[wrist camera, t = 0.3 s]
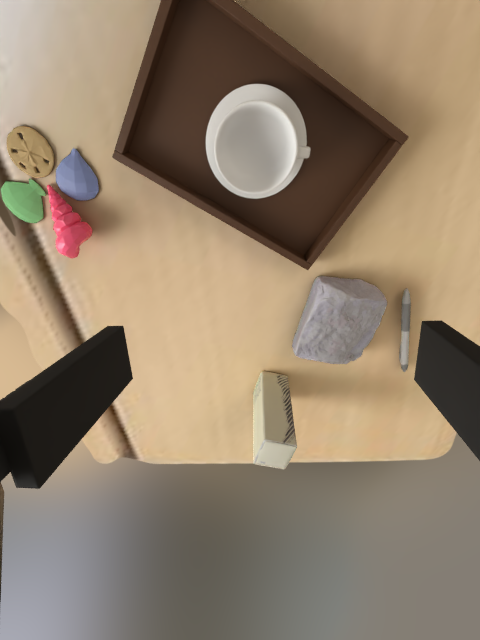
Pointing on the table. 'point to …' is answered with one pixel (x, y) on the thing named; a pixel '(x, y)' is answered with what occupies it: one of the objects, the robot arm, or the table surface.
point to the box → (273, 421)
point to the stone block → (338, 320)
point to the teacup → (256, 141)
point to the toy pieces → (49, 188)
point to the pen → (405, 330)
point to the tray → (208, 91)
